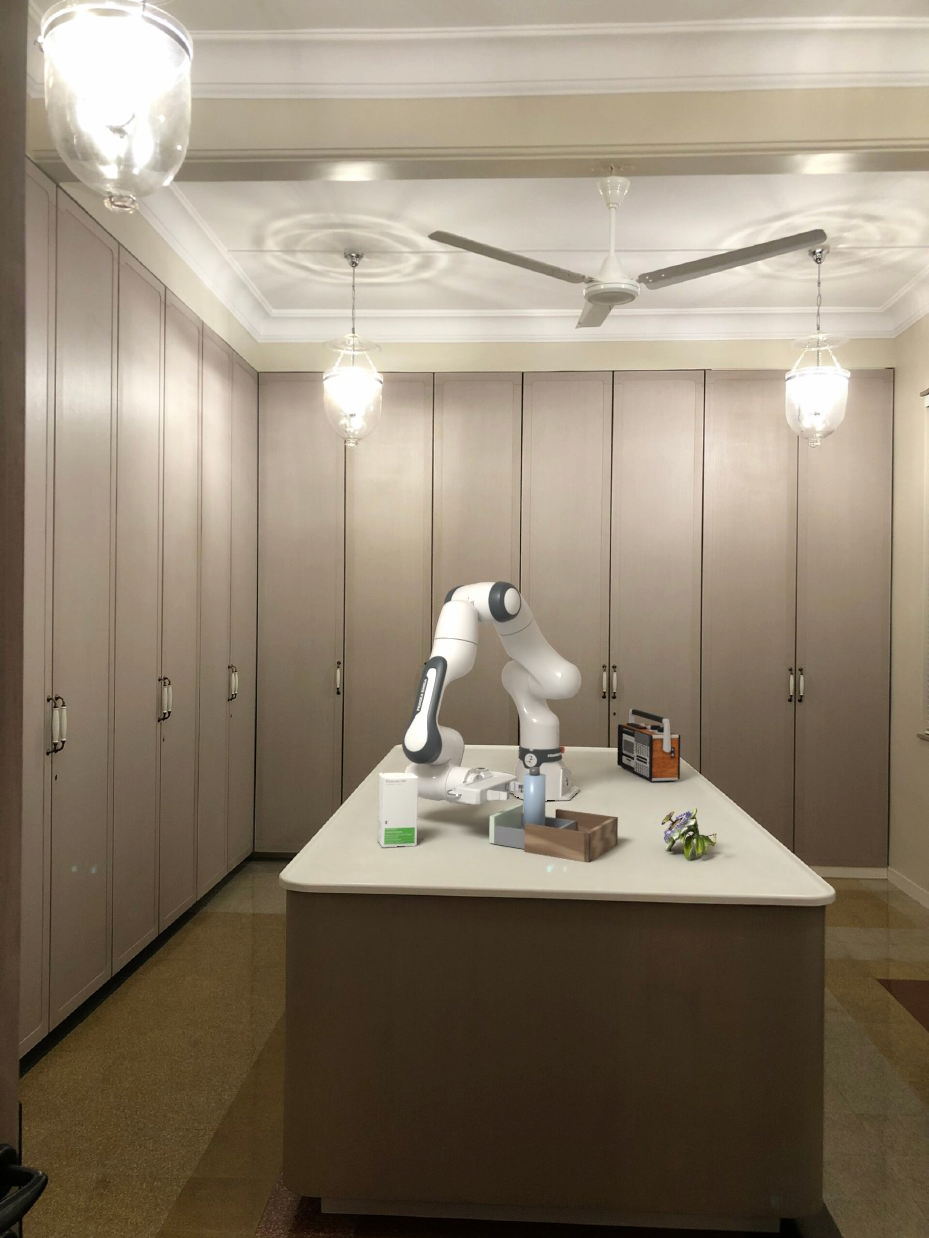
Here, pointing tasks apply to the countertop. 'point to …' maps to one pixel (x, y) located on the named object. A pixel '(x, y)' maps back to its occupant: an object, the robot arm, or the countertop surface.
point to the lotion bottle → (534, 797)
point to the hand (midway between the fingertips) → (517, 792)
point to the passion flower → (681, 829)
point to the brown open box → (573, 836)
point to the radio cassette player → (649, 748)
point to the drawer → (518, 826)
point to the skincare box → (397, 809)
